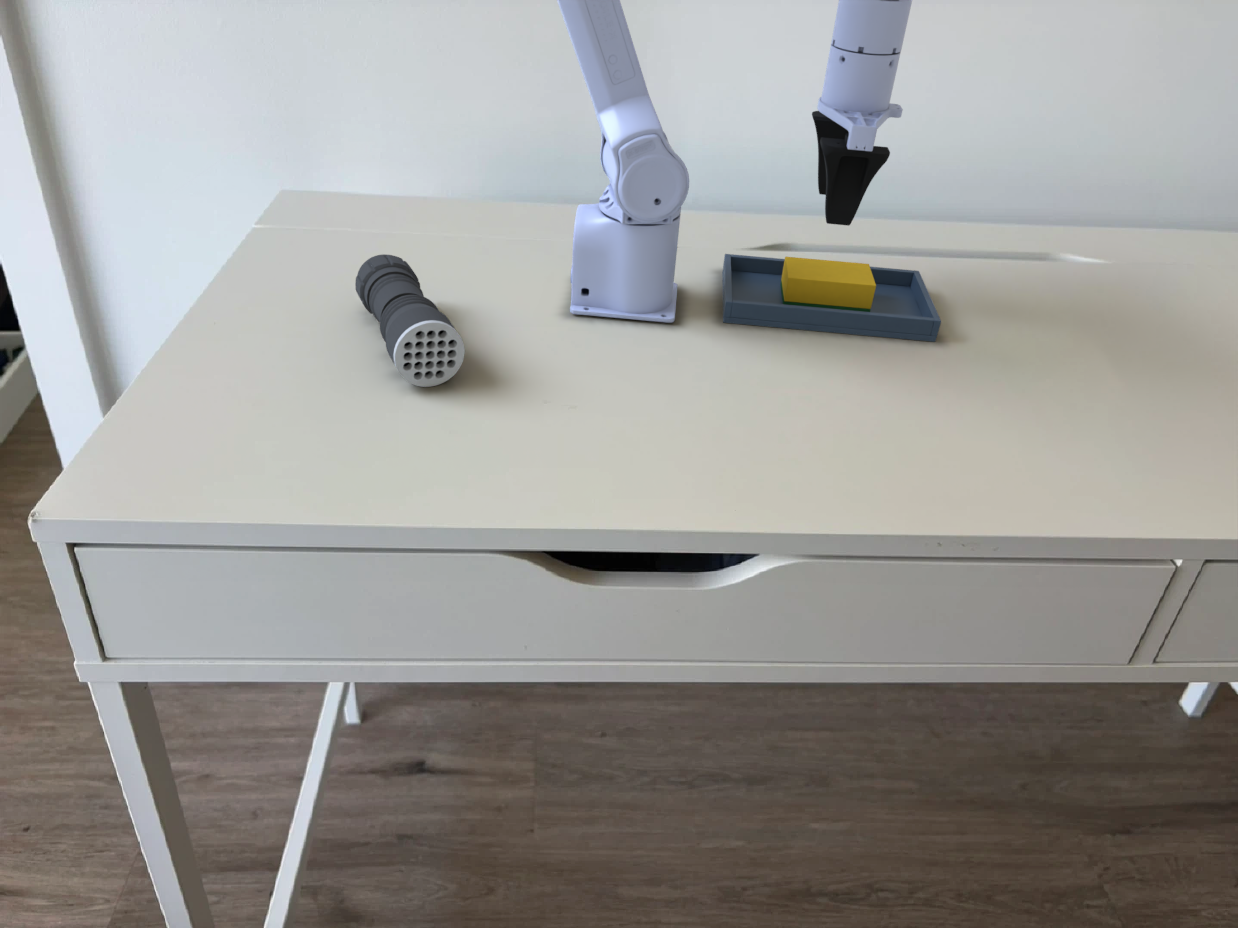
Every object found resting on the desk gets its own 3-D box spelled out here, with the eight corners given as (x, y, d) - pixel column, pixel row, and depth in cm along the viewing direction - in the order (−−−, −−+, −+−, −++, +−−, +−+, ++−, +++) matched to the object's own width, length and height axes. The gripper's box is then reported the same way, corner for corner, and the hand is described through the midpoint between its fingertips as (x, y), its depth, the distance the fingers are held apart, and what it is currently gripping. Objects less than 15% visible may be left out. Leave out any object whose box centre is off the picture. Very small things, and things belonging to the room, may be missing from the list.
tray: (722, 322, 84) (725, 301, 83) (722, 273, 94) (724, 253, 92) (935, 342, 84) (941, 321, 82) (913, 290, 93) (919, 270, 92)
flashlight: (353, 308, 82) (347, 251, 79) (413, 300, 85) (409, 243, 81) (397, 392, 71) (392, 328, 68) (466, 380, 73) (463, 318, 70)
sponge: (783, 307, 86) (788, 277, 85) (780, 285, 90) (785, 256, 89) (869, 315, 86) (876, 285, 84) (862, 292, 90) (869, 263, 88)
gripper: (930, 71, 70) (889, 242, 78) (900, 34, 82) (867, 186, 90) (837, 63, 71) (805, 234, 79) (821, 28, 83) (795, 179, 90)
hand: (833, 208), depth 84 cm, fingers open, 7 cm apart
